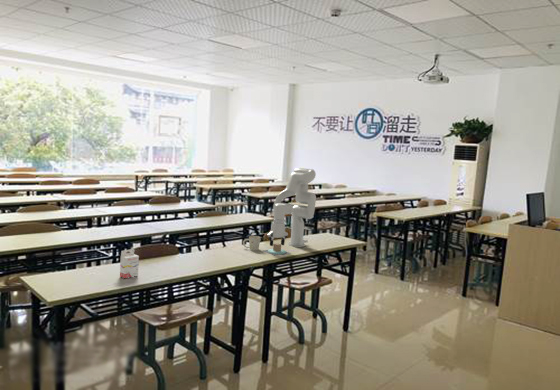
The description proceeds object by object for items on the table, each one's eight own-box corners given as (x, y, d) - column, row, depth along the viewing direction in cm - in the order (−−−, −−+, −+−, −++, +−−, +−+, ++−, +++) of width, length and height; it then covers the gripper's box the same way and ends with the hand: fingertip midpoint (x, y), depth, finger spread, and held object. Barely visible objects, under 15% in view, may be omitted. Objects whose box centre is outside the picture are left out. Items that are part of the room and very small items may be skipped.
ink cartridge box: (124, 279, 241) (125, 252, 239) (119, 277, 244) (120, 250, 242) (138, 276, 247) (139, 250, 246) (133, 274, 250) (134, 248, 249)
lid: (279, 249, 327) (279, 241, 327) (289, 253, 317) (290, 245, 316) (264, 250, 320) (264, 242, 319) (274, 255, 309) (275, 246, 309)
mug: (259, 252, 318) (260, 238, 317) (241, 251, 318) (242, 237, 317) (260, 249, 326) (260, 236, 325) (243, 248, 326) (243, 235, 325)
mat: (279, 250, 329) (279, 248, 329) (291, 254, 317) (291, 253, 317) (262, 251, 320) (262, 250, 320) (274, 256, 308) (274, 255, 308)
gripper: (285, 220, 324) (283, 243, 325) (265, 220, 314) (263, 244, 315) (291, 222, 318) (289, 245, 319) (271, 222, 307) (269, 247, 309)
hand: (277, 245), depth 317 cm, fingers open, 9 cm apart
